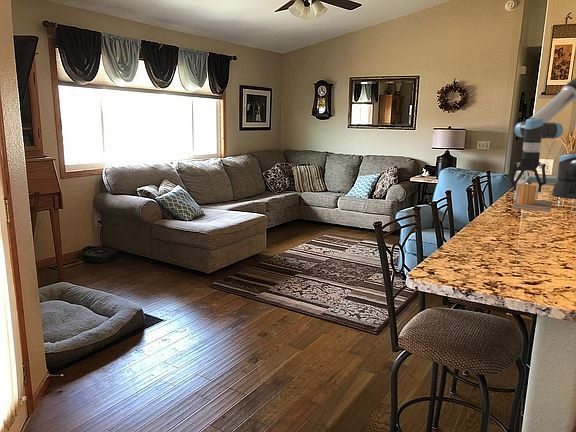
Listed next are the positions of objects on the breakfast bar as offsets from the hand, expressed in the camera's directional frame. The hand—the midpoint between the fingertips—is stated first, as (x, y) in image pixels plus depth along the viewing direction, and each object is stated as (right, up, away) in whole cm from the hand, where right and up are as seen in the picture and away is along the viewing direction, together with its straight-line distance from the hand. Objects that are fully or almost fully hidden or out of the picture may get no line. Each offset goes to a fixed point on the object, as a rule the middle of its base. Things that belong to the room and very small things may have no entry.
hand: (526, 197), depth 223 cm
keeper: (+9, +8, +3) cm, 12 cm away
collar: (0, -3, 0) cm, 3 cm away
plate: (+1, -5, -3) cm, 6 cm away
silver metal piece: (+2, -2, +4) cm, 5 cm away
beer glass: (+6, 0, +18) cm, 19 cm away
